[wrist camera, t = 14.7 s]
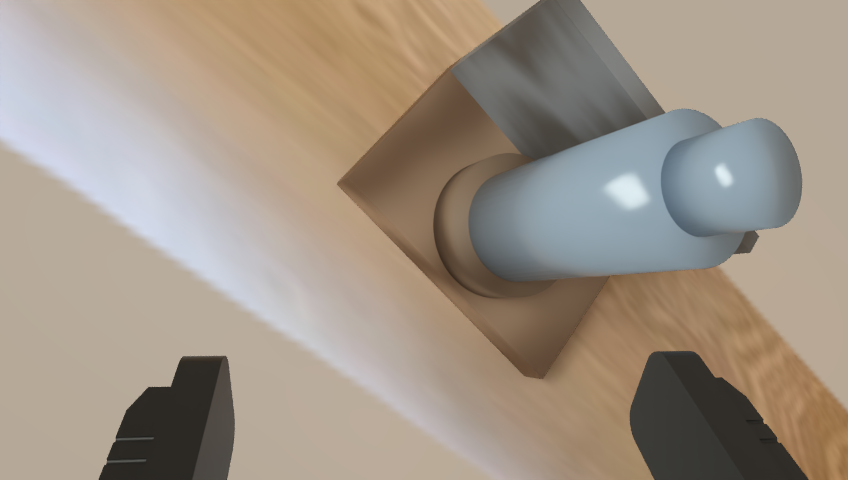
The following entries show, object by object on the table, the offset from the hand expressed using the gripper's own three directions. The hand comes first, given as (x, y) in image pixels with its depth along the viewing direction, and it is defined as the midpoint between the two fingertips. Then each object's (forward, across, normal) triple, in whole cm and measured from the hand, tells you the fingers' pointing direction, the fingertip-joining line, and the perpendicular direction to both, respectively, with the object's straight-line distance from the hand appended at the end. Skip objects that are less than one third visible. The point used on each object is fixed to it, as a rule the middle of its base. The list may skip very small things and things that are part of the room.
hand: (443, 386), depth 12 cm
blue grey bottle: (+16, -6, +6) cm, 18 cm away
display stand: (+19, -6, +7) cm, 21 cm away
